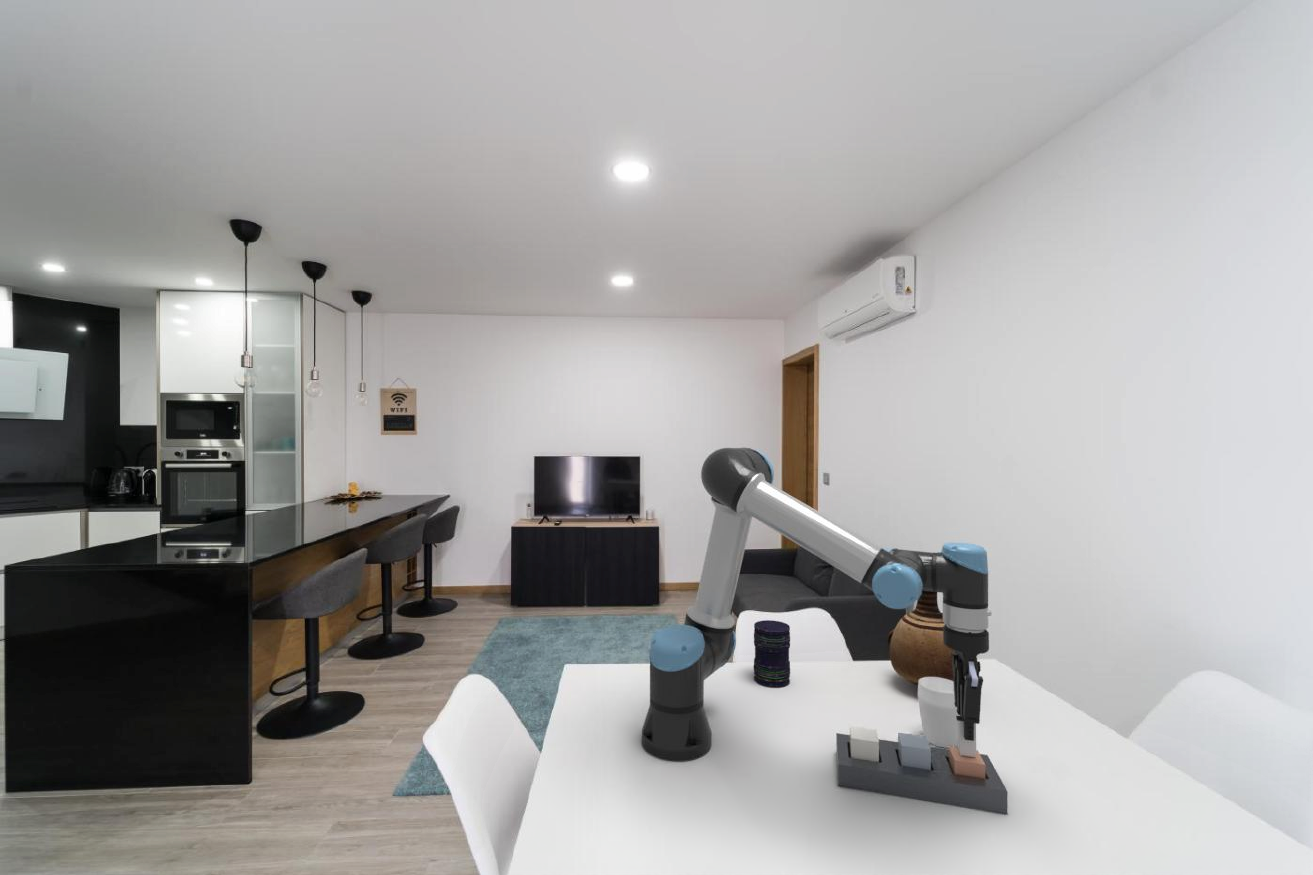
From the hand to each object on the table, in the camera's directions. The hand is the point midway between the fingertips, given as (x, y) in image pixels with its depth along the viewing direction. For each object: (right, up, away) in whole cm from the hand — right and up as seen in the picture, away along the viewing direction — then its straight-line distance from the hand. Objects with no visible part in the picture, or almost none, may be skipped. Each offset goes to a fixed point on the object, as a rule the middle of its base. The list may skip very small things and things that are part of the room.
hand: (967, 753), depth 103 cm
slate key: (-9, -4, +3) cm, 10 cm away
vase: (+14, -8, +43) cm, 46 cm away
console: (-9, -7, +2) cm, 11 cm away
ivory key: (-17, -4, +5) cm, 19 cm away
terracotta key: (0, -5, 0) cm, 5 cm away
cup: (+4, -7, +17) cm, 19 cm away
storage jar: (-26, -8, +48) cm, 56 cm away
